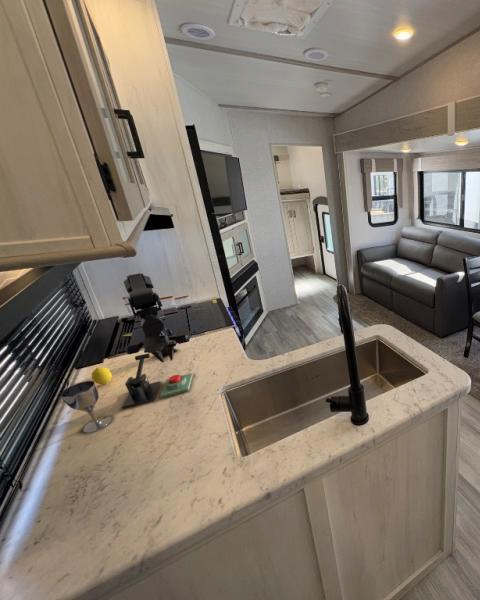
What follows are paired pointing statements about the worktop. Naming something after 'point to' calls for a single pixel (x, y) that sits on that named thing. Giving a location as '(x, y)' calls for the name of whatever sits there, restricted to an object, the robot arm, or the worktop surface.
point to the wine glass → (85, 403)
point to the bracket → (140, 392)
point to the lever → (139, 369)
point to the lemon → (101, 375)
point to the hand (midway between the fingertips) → (167, 361)
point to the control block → (176, 386)
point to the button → (174, 379)
